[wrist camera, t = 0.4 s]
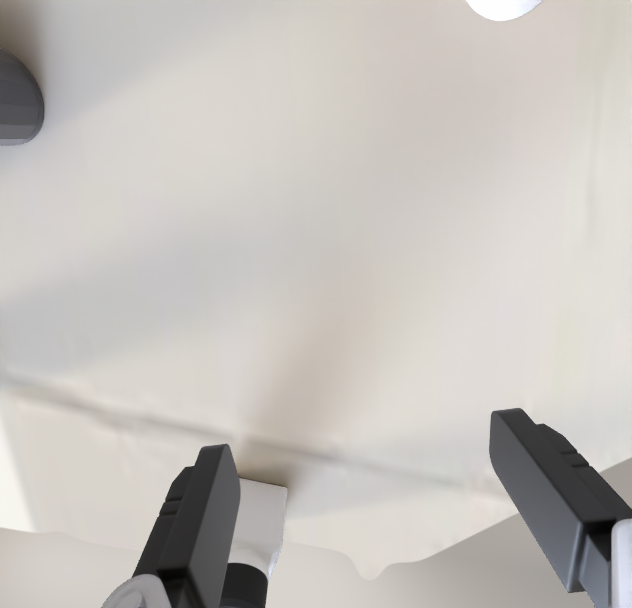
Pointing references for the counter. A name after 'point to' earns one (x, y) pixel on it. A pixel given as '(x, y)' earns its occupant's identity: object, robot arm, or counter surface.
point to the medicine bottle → (254, 544)
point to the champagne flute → (502, 8)
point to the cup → (18, 102)
